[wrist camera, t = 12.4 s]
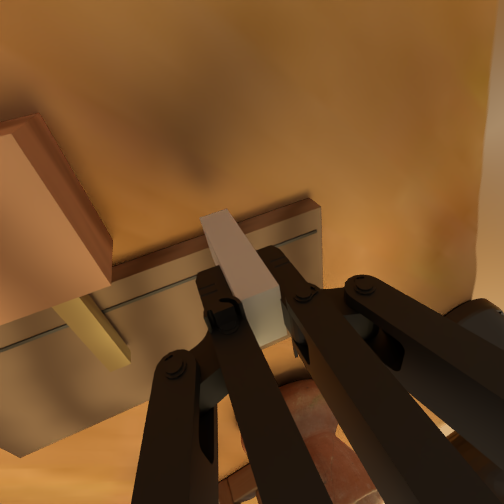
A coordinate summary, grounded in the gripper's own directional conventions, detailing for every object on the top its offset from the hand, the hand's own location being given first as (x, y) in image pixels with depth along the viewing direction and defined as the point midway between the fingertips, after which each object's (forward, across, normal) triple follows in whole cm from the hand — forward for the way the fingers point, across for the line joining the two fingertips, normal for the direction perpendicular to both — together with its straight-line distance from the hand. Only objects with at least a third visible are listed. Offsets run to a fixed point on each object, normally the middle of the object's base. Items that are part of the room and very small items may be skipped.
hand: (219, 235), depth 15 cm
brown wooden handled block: (+6, +9, +1) cm, 11 cm away
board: (+6, +7, +10) cm, 13 cm away
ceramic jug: (+7, -2, +33) cm, 34 cm away
